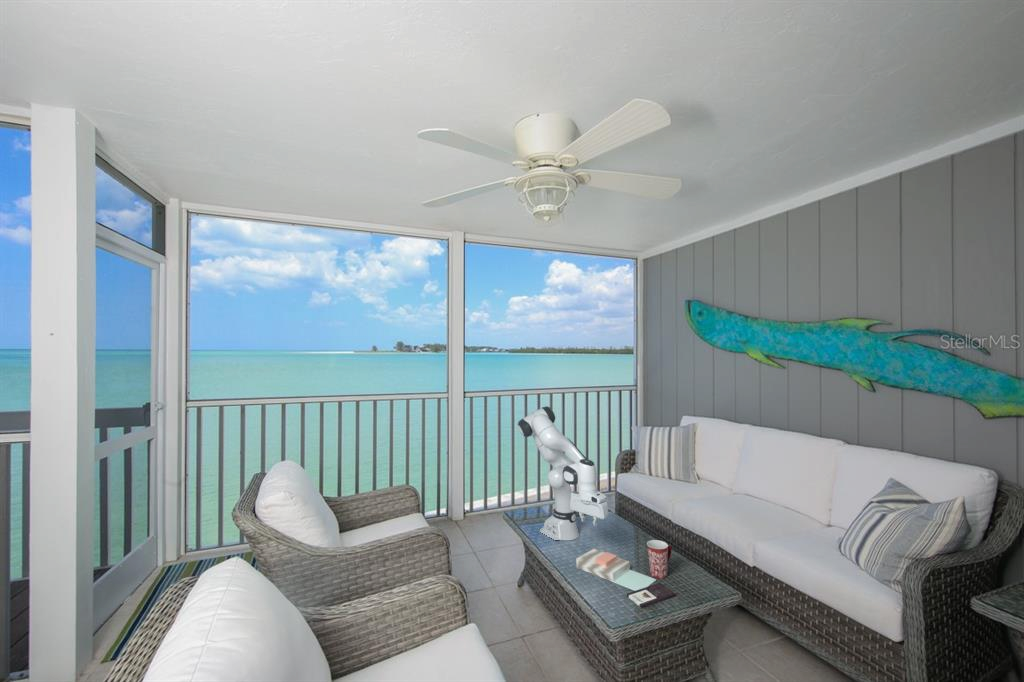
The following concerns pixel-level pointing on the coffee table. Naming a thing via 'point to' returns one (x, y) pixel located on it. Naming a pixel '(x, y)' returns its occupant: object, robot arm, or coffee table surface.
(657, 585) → the chocolate bar
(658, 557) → the mug
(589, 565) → the striped beige block
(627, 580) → the mat
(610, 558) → the salmon pink eraser
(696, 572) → the coffee table surface
